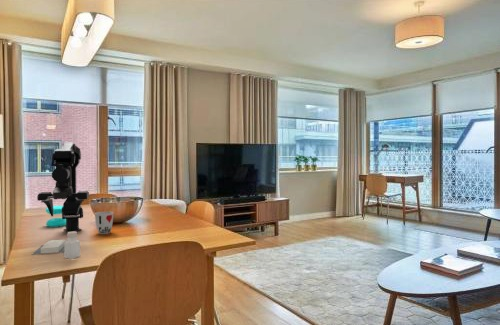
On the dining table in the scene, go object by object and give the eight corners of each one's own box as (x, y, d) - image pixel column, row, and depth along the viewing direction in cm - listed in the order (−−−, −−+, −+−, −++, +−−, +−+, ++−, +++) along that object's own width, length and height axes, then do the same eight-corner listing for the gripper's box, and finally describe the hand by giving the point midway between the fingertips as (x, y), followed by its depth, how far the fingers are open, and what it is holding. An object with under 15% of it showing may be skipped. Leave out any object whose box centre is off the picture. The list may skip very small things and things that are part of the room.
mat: (42, 246, 145) (42, 245, 145) (74, 244, 149) (74, 243, 149) (31, 255, 132) (31, 254, 132) (66, 253, 135) (66, 252, 135)
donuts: (57, 204, 192) (71, 205, 189) (57, 223, 192) (72, 224, 189) (41, 207, 182) (56, 208, 179) (41, 226, 183) (56, 228, 180)
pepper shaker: (63, 258, 128) (63, 232, 128) (72, 255, 132) (72, 230, 132) (72, 260, 127) (71, 233, 127) (81, 257, 131) (80, 231, 130)
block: (49, 240, 144) (40, 248, 133) (65, 239, 146) (58, 247, 134) (49, 245, 144) (40, 254, 133) (65, 244, 146) (58, 252, 134)
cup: (95, 236, 163) (95, 214, 163) (94, 232, 170) (94, 212, 170) (114, 234, 167) (114, 213, 166) (112, 230, 174) (112, 210, 174)
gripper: (32, 181, 138) (33, 221, 139) (84, 181, 143) (84, 218, 144) (41, 178, 149) (41, 215, 150) (89, 178, 154) (89, 213, 155)
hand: (64, 215), depth 149 cm, fingers open, 9 cm apart
